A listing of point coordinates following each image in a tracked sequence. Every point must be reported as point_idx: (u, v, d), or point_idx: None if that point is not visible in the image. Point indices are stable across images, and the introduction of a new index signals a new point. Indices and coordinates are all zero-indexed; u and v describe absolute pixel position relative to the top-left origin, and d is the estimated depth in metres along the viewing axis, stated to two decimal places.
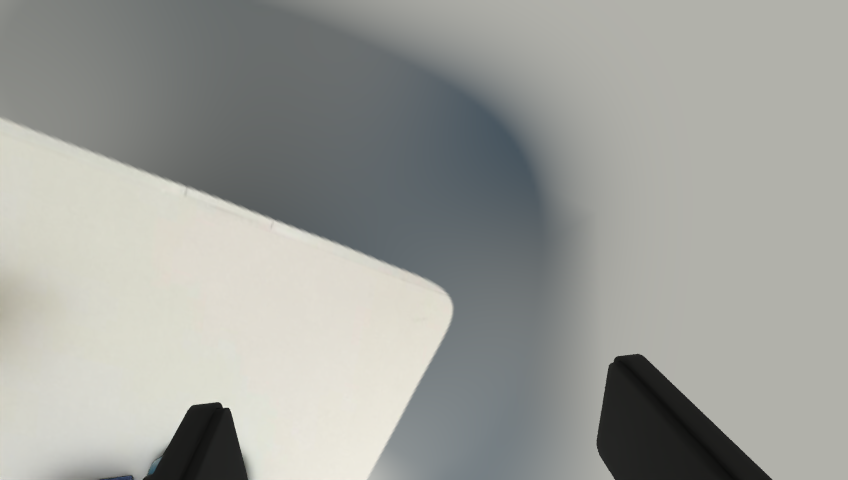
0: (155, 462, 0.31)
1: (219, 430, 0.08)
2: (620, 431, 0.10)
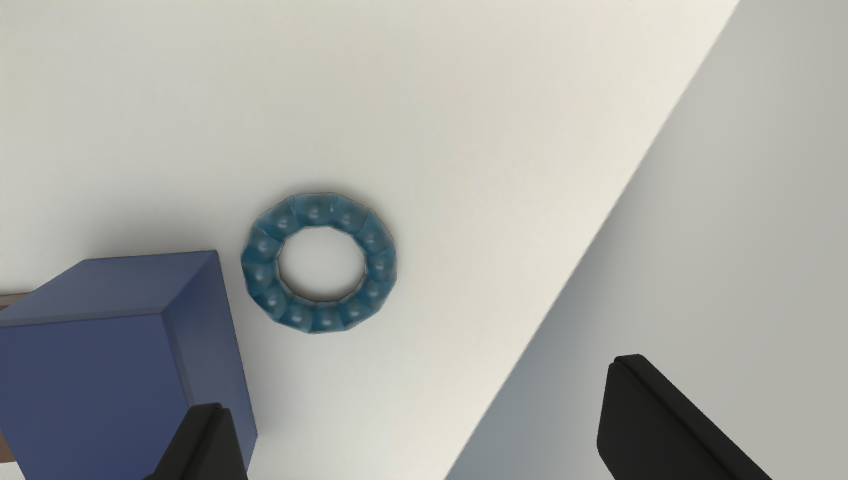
0: (262, 214, 0.19)
1: (219, 430, 0.08)
2: (620, 432, 0.10)
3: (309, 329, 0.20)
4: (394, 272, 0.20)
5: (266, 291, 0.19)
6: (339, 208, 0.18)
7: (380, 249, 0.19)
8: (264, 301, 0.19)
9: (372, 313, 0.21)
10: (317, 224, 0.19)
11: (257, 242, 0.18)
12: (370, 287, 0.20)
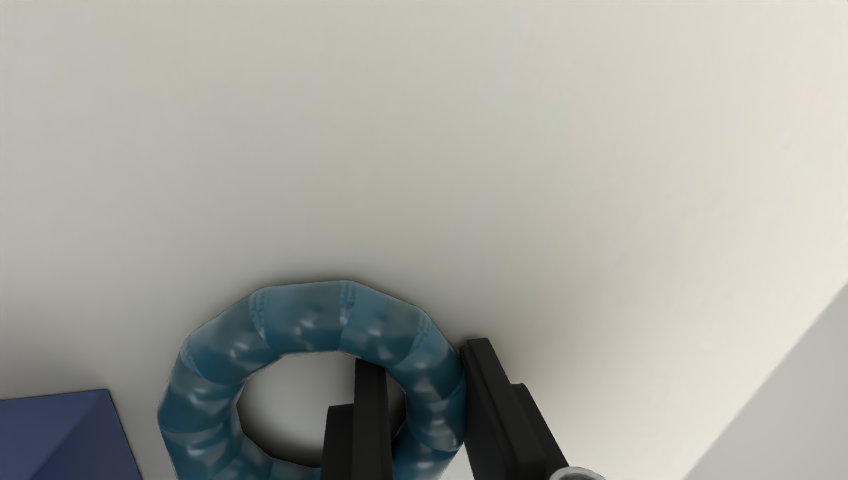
0: (198, 331, 0.09)
1: None
2: None
3: None
4: (464, 425, 0.10)
5: (212, 479, 0.10)
6: (359, 319, 0.09)
7: (441, 392, 0.10)
8: None
9: None
10: (313, 351, 0.09)
11: (186, 393, 0.09)
12: (418, 457, 0.10)
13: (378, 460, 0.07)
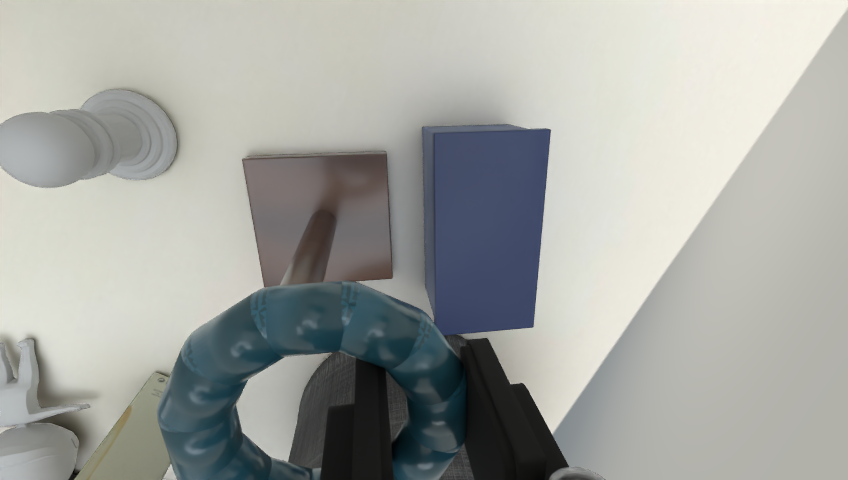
0: (199, 330, 0.09)
1: (385, 370, 0.10)
2: None
3: None
4: (464, 427, 0.10)
5: (212, 478, 0.10)
6: (361, 320, 0.09)
7: (442, 394, 0.10)
8: None
9: None
10: (314, 352, 0.09)
11: (186, 392, 0.09)
12: (418, 458, 0.10)
13: (378, 460, 0.07)
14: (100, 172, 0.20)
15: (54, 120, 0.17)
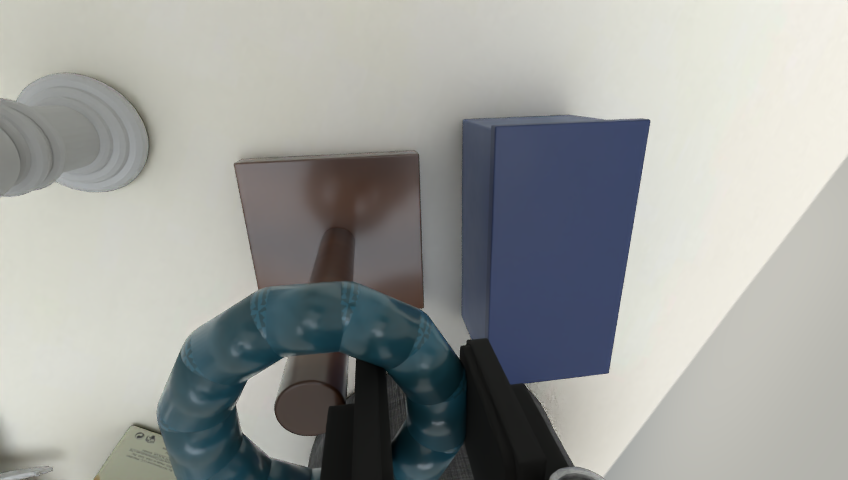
0: (199, 330, 0.09)
1: (385, 370, 0.10)
2: None
3: None
4: (464, 427, 0.10)
5: (211, 478, 0.10)
6: (361, 320, 0.09)
7: (442, 394, 0.10)
8: None
9: None
10: (314, 352, 0.09)
11: (186, 392, 0.09)
12: (418, 458, 0.10)
13: (378, 460, 0.07)
14: (33, 186, 0.14)
15: None
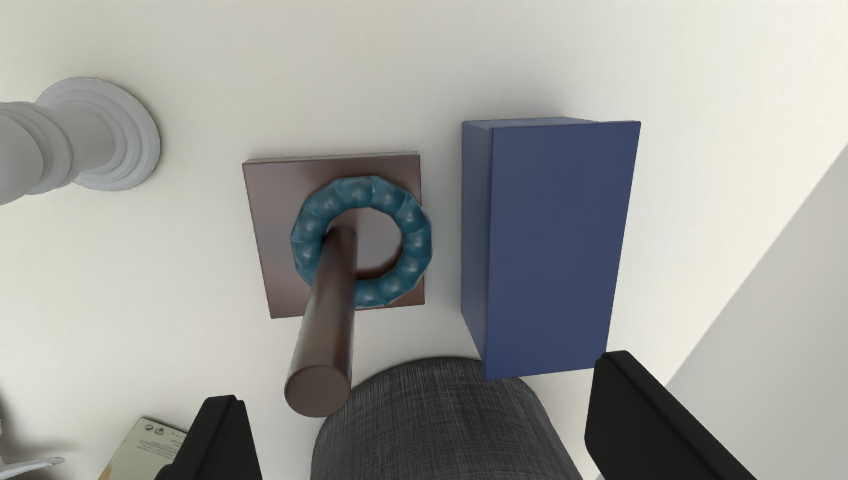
0: (309, 197, 0.20)
1: (234, 421, 0.08)
2: (606, 426, 0.10)
3: None
4: (430, 249, 0.22)
5: (314, 269, 0.21)
6: (380, 189, 0.20)
7: (418, 227, 0.21)
8: (312, 278, 0.21)
9: (410, 288, 0.22)
10: (360, 204, 0.20)
11: (306, 222, 0.20)
12: (409, 263, 0.22)
13: None
14: (54, 185, 0.15)
15: None
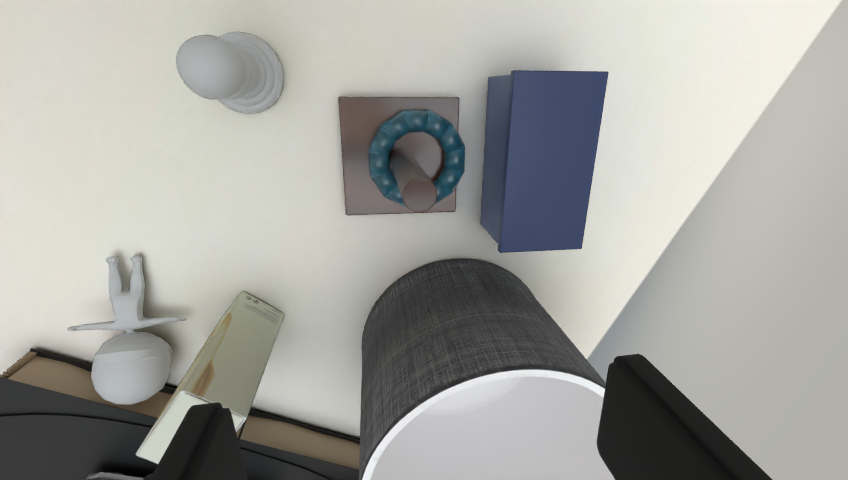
0: (384, 122, 0.30)
1: (219, 430, 0.08)
2: (620, 431, 0.10)
3: None
4: (463, 165, 0.31)
5: (384, 173, 0.30)
6: (433, 117, 0.29)
7: (456, 147, 0.30)
8: (382, 180, 0.30)
9: (448, 193, 0.31)
10: (418, 128, 0.29)
11: (381, 139, 0.29)
12: (448, 174, 0.31)
13: None
14: (241, 93, 0.24)
15: (223, 41, 0.22)
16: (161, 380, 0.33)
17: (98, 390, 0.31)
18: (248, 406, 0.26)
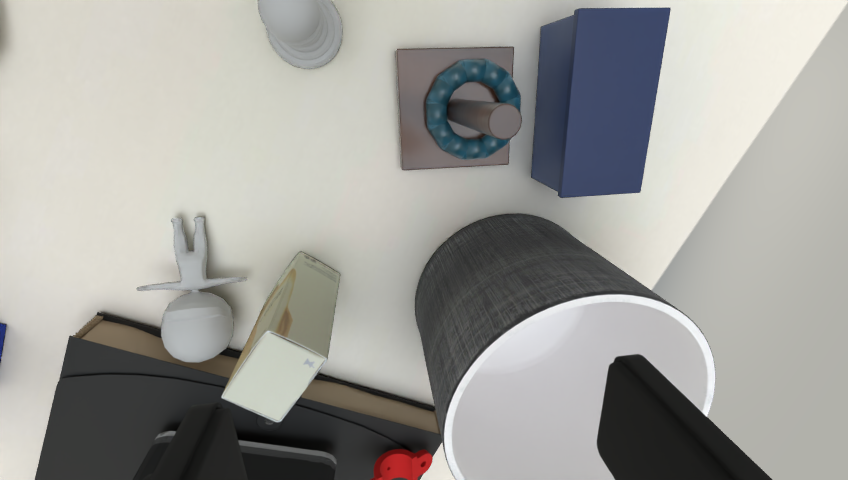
0: (442, 72, 0.30)
1: (219, 430, 0.08)
2: (620, 431, 0.10)
3: (465, 153, 0.32)
4: None
5: (442, 124, 0.31)
6: (491, 66, 0.30)
7: (513, 95, 0.30)
8: (440, 131, 0.31)
9: (504, 143, 0.32)
10: (476, 77, 0.30)
11: (441, 88, 0.30)
12: None
13: None
14: (312, 39, 0.25)
15: None
16: (226, 339, 0.33)
17: (169, 347, 0.31)
18: (327, 349, 0.26)
